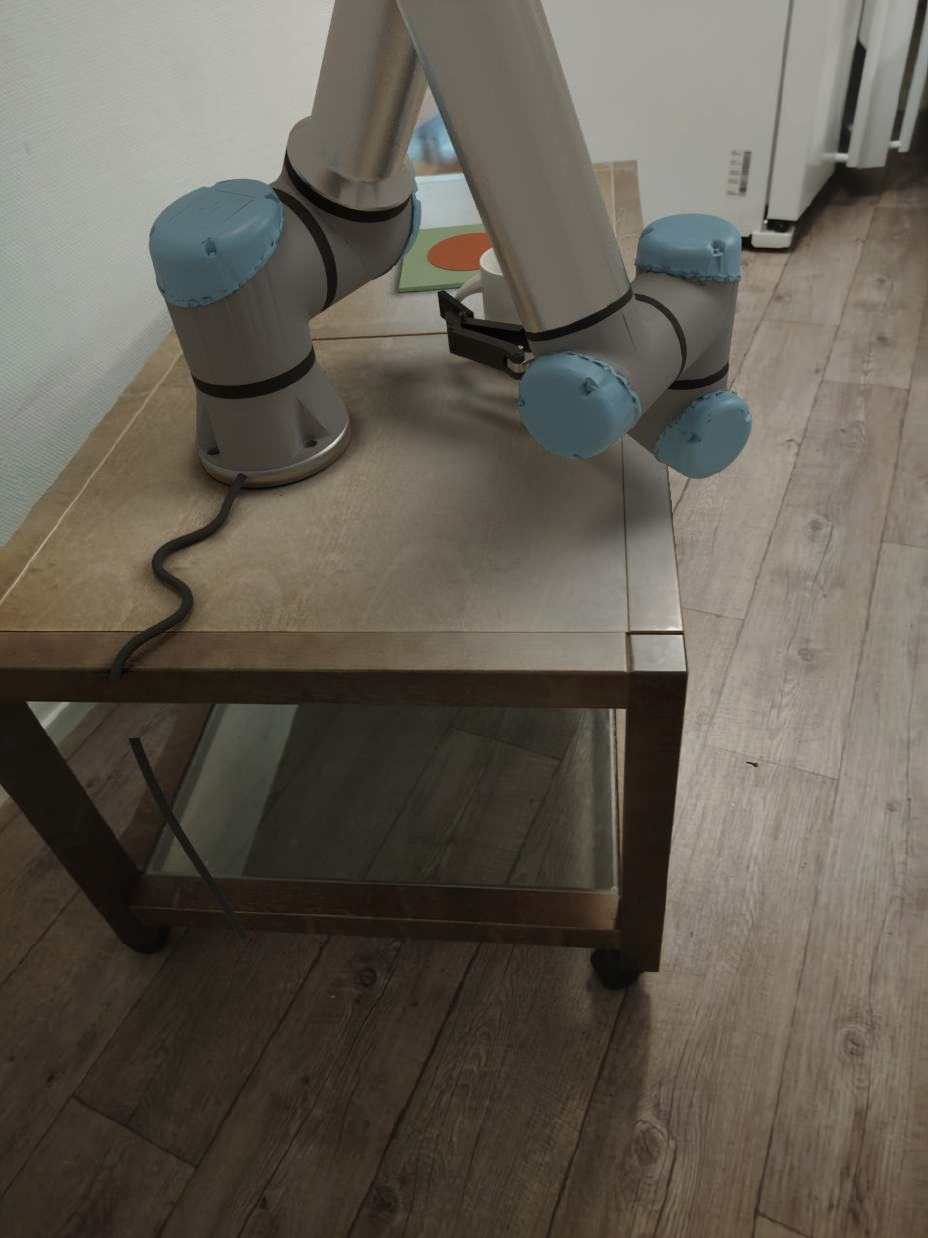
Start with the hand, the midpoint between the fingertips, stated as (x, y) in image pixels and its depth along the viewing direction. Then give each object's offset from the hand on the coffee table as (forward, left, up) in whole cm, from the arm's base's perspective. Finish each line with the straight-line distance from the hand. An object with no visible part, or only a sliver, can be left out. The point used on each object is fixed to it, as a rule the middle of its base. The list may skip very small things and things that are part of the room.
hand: (491, 286), depth 96 cm
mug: (-3, -2, -7) cm, 8 cm away
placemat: (+24, +3, -6) cm, 25 cm away
